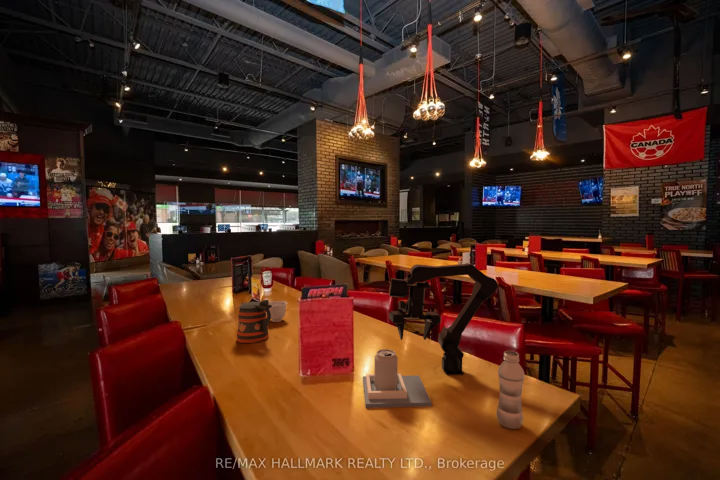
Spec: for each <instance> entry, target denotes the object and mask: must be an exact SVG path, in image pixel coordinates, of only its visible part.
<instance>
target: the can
mask: <svg viewBox="0 0 720 480" xmlns="http://www.w3.org/2000/svg"><path fill="white" fill-rule="evenodd" d="M396 354H397V353H396V351H395V350H393V349H390V348H389V349H388V348H383V349H381V348H380V349H378V350H377V351H376V354H375V355H374V374H375V381H374V385H375V388H376V389H378V391H394V390H395V389H396V388H397V374H398V365H399V364H398V362H399V360H398V355H396Z"/></svg>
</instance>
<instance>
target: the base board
mask: <svg viewBox="0 0 720 480" xmlns="http://www.w3.org/2000/svg"><path fill="white" fill-rule="evenodd" d="M374 381H375V373H366V374H365V375H363V376H362V385H363V395H364V396H363V397H364V405H365V406H364V407H365V409H370V408H371V409H372V408H373V409H374V408H375V409H376V408H378V409H379V408H409V407H410V408H412V407H413V408H414V407H415V408H418V407H420V408H421V407H423V408H424V407H433V406H432V405H433V404H432V400H431V398H430V396H429V394H428V392H427V390H426V387H425V385H424V383H423V381H422V379H421V377H420V375H418V374H417V375H402V373H397V388H396V389H395V390H394V391H378V389H376V388H375V385H374Z"/></svg>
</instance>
